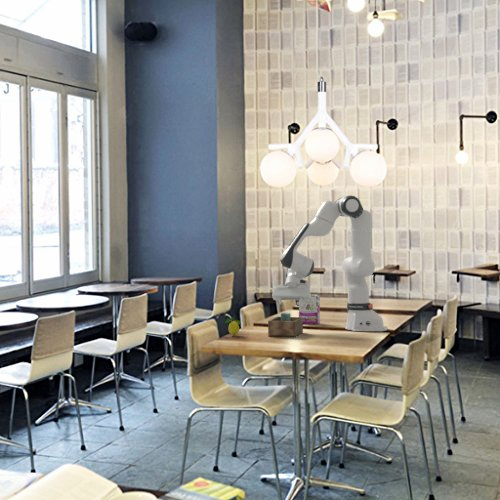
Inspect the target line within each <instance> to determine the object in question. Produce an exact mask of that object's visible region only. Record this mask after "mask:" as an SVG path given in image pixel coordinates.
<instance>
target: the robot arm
mask: <svg viewBox="0 0 500 500" xmlns="http://www.w3.org/2000/svg"><path fill="white" fill-rule="evenodd" d="M339 217H347V218H349V219H350V222H351V223H350V224H351V225H350V236H349V246H350V248H351V249H350V250H351V254H352V255H350V256H348V257H346V258H345V259H344V260H343V261H342V265H341V266H342V269H343V271H344V275H345V276H344V277H345V279H346V284H347V303H346V313H347V317H346V324H345V330H349V331H353V332H384V331H385V332H386V331H388V326H385V324H384V321H383V320H384V319H383V317H382V316H381V315H380V314H378V313H377V312H376V311H375V310H373V303H371V302H370V293H369V292H370V291H369V290H370V289H369V285H368V284H367V280H366V278H367V277H370V276H372V275H373V273H375V269H376V267H375V262H374V261H373V256H372V249H371V246H372V230H373V220H372V214H371V212H370V211H369V210H366V209H364V207H363V205H362V203H361V200H360V199H359V198H358V197H357V196H355V195H345V196H342V197H340V198H338V199H337V200H336V201H335V202H334V201H332V200H324V201H323V202H322V204H321V205H320V207H319V208H318V210H317V212H316V213H315V215H314V218H313V219H312V220H311V221H310V222H307V223H304V225H303V226H302V227H301V228H300V229H299V231H298V232H297V233H296V234H295V237H294V238H293V239H292V241H290V243H289V245H288V246H287V247H286V248H285V250H284V251H283V253H282V254H281V255H280V258H279V260H280V264H281V266H282V267H283V268H287V271H286V272H287V273H286V274H287V276H286V278H285V283H284V284H276V285H274V287H273V289H272V294H271V298H272V299H273V301H278V306H279V307H283V301H296V307H299V306H300V304H301V303H302V302H303V300H309V299H310V296H311V295H312V294H311V286H310V283H309V281H308V280H305V279H304V278H308V277H309V276H311V274H313V272H314V269H315V262H314V261H315V260H314V259H312V258H311V257H309V256H306V255H303V254H302V253H299V252H298V251H297V249H298V248H299V247H300V246H301V244H302V242H303V241H304V239H306V238H307V237H326V236H328V235H329V234H330V233H331V231H332V230H333V228H334V226H335V223H336V221H337V220H338V218H339ZM299 300H300V301H299Z"/></svg>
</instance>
